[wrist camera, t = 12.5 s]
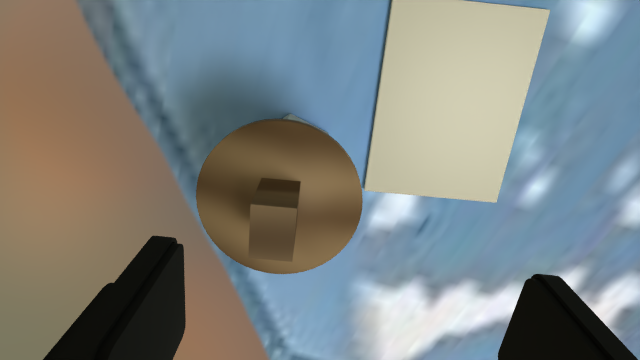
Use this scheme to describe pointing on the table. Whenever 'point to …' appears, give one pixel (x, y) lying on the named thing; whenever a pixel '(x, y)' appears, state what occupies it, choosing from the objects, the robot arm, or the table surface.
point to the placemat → (451, 96)
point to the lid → (279, 196)
